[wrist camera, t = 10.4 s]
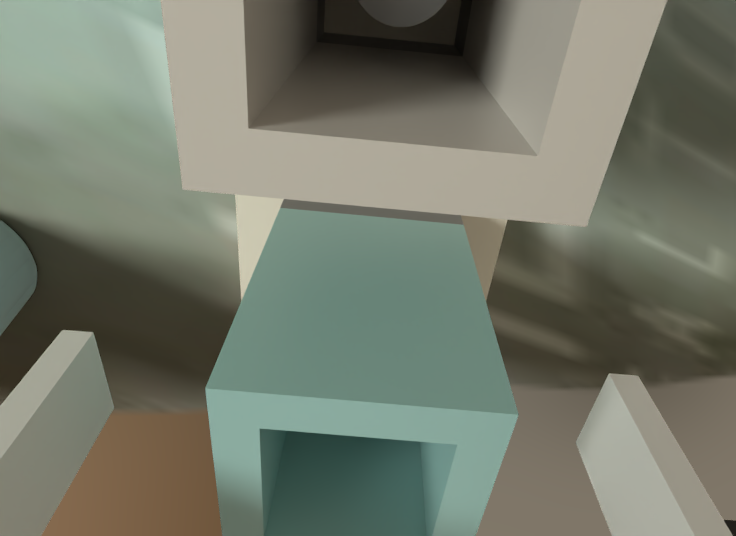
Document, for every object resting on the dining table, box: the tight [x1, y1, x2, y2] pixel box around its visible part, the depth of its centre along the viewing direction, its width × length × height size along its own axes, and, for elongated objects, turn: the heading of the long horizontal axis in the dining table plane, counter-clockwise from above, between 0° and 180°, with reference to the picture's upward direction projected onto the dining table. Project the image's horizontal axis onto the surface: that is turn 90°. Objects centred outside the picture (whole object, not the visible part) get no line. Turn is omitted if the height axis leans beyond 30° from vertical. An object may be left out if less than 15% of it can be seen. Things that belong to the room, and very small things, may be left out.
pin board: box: [235, 0, 507, 301], centre depth 15 cm, size 17×10×8 cm, turn 175°
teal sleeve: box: [205, 199, 518, 536], centre depth 15 cm, size 6×6×10 cm
